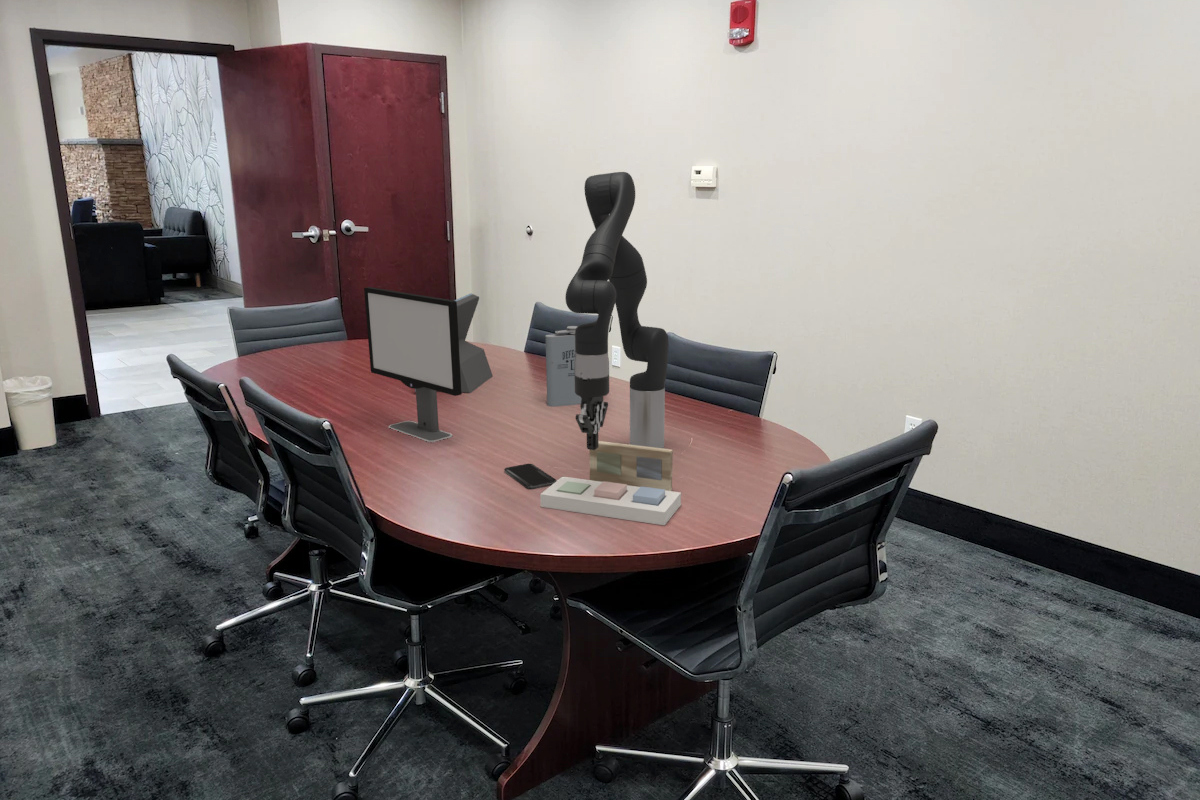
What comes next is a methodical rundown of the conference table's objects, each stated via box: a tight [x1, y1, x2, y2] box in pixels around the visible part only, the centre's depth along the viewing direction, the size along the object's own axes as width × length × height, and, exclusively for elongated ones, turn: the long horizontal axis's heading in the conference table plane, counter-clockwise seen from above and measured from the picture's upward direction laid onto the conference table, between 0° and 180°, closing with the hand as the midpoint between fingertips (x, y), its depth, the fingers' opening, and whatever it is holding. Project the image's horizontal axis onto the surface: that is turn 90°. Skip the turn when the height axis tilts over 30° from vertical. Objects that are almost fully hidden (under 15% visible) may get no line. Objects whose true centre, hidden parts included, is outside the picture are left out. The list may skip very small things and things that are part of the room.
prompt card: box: [589, 440, 674, 491], centre depth 200 cm, size 2×20×10 cm, turn 68°
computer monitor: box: [363, 286, 462, 443], centre depth 238 cm, size 41×8×40 cm, turn 47°
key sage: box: [557, 481, 590, 495], centre depth 192 cm, size 6×6×3 cm
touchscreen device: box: [414, 292, 494, 394], centre depth 295 cm, size 35×20×30 cm, turn 169°
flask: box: [545, 325, 581, 407], centre depth 269 cm, size 17×5×25 cm, turn 112°
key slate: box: [633, 486, 665, 506], centre depth 185 cm, size 6×6×3 cm
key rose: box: [594, 481, 627, 500], centre depth 189 cm, size 6×6×3 cm
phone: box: [503, 463, 557, 490], centre depth 207 cm, size 8×1×15 cm
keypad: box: [539, 476, 682, 526], centre depth 189 cm, size 12×29×3 cm, turn 68°
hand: (592, 448), depth 188 cm, fingers closed
